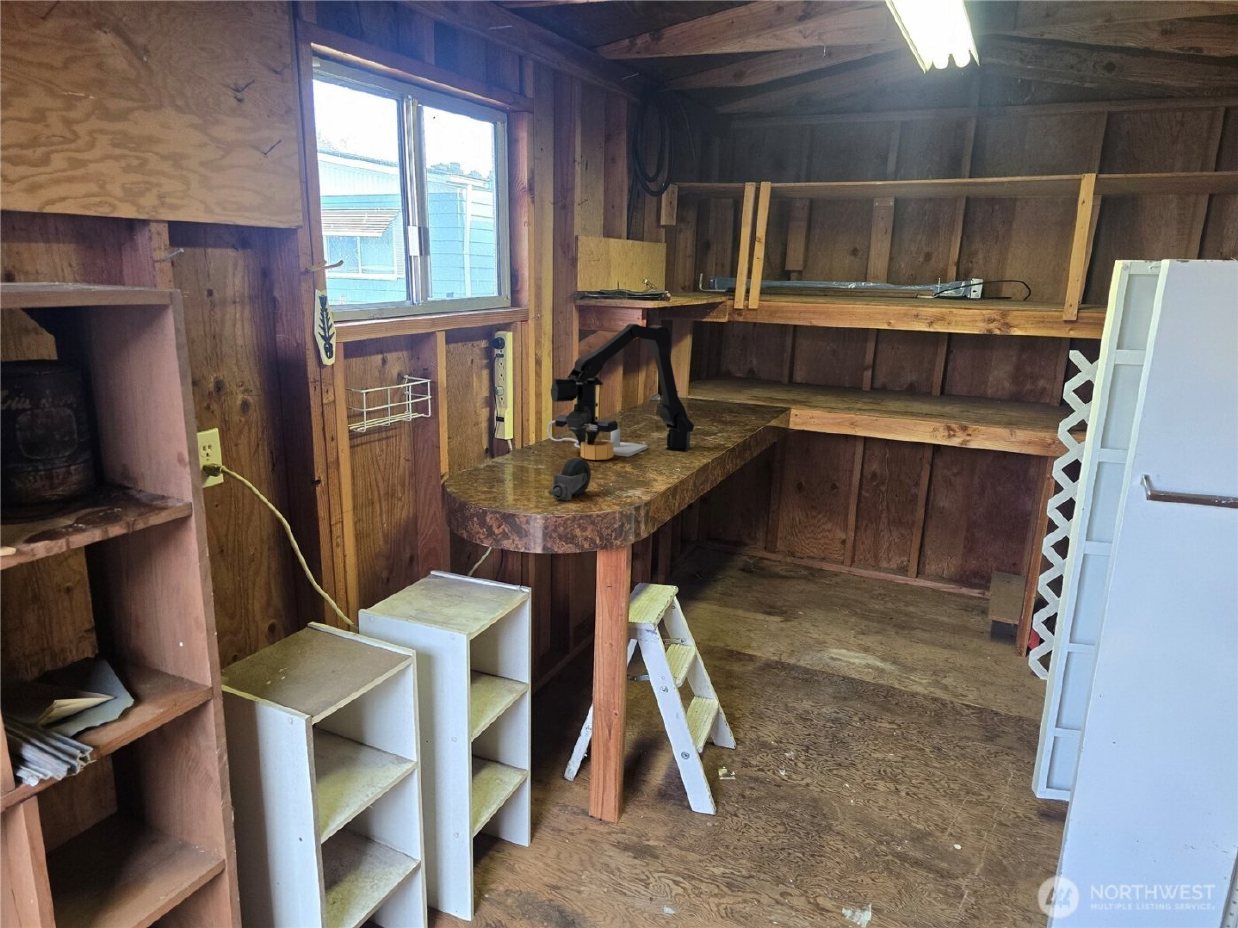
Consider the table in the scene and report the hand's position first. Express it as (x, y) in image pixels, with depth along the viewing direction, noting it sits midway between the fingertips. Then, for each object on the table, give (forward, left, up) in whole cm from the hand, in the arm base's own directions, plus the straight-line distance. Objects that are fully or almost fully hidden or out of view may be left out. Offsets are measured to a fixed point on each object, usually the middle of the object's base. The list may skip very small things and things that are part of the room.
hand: (585, 451), depth 233 cm
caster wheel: (-18, +41, -2) cm, 44 cm away
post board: (-3, -14, -2) cm, 14 cm away
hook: (+15, -16, -2) cm, 22 cm away
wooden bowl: (-4, 0, -1) cm, 4 cm away
